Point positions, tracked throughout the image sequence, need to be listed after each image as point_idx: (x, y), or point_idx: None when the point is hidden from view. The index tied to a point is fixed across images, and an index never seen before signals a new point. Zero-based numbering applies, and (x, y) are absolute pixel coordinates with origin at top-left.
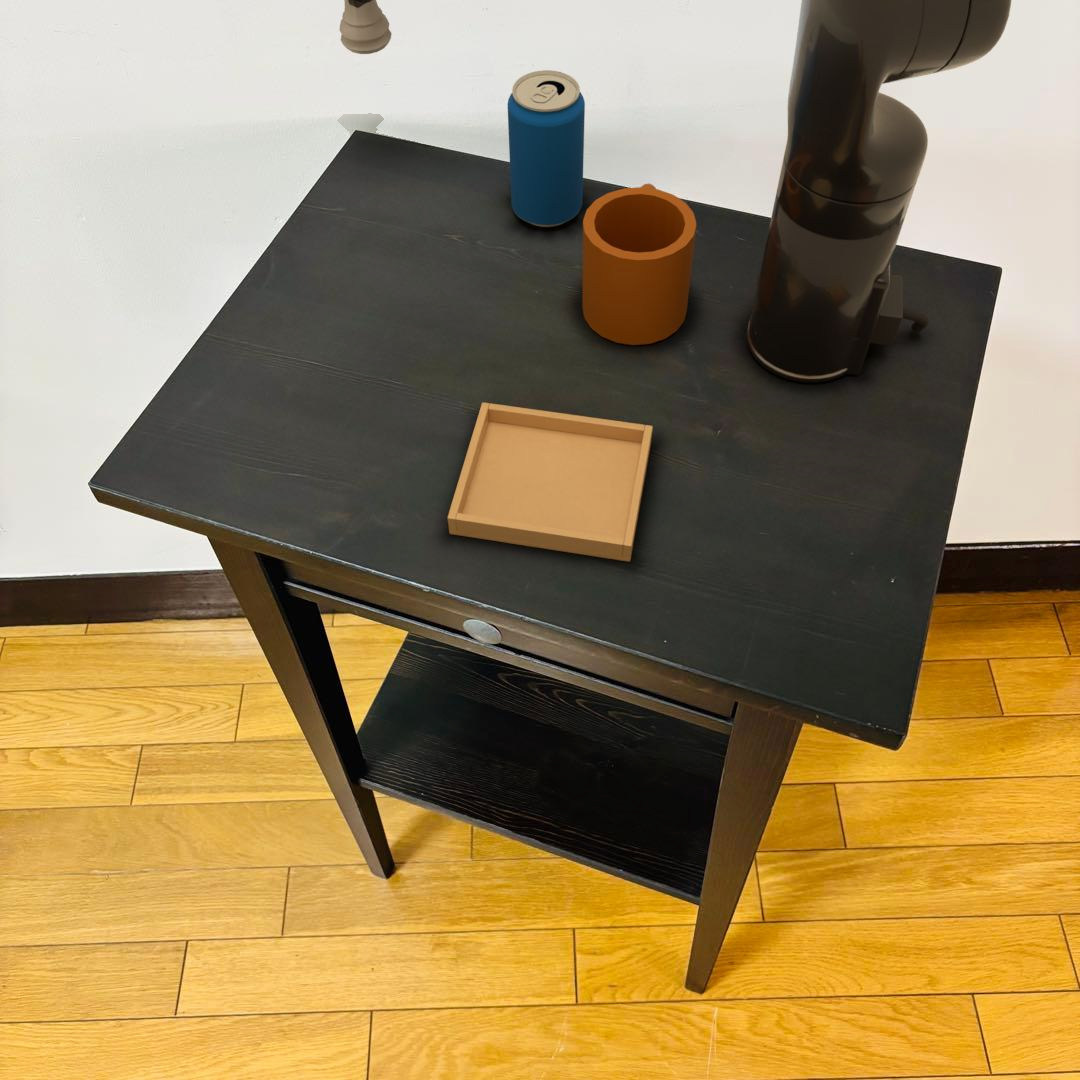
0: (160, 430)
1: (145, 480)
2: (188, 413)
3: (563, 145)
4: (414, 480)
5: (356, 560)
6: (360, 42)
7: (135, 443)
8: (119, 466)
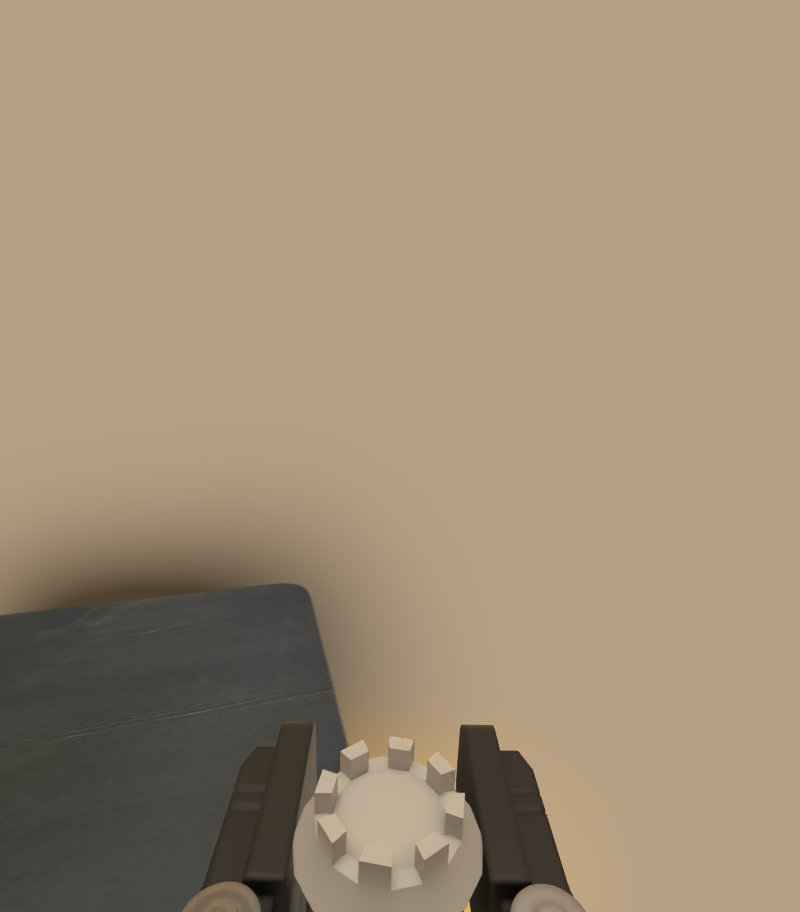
0: (297, 615)
1: (275, 591)
2: (286, 631)
3: None
4: (24, 665)
5: (68, 608)
6: None
7: (307, 603)
8: (303, 591)
